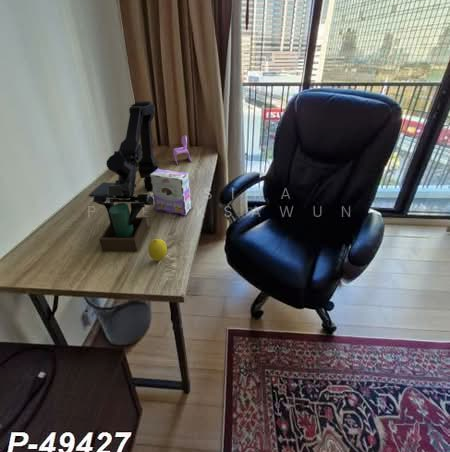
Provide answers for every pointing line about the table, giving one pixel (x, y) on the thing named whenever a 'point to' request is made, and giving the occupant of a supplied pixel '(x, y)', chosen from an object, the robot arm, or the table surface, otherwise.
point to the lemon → (157, 249)
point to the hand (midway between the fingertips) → (120, 225)
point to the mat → (102, 189)
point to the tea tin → (121, 220)
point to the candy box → (171, 191)
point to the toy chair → (182, 149)
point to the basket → (124, 244)
